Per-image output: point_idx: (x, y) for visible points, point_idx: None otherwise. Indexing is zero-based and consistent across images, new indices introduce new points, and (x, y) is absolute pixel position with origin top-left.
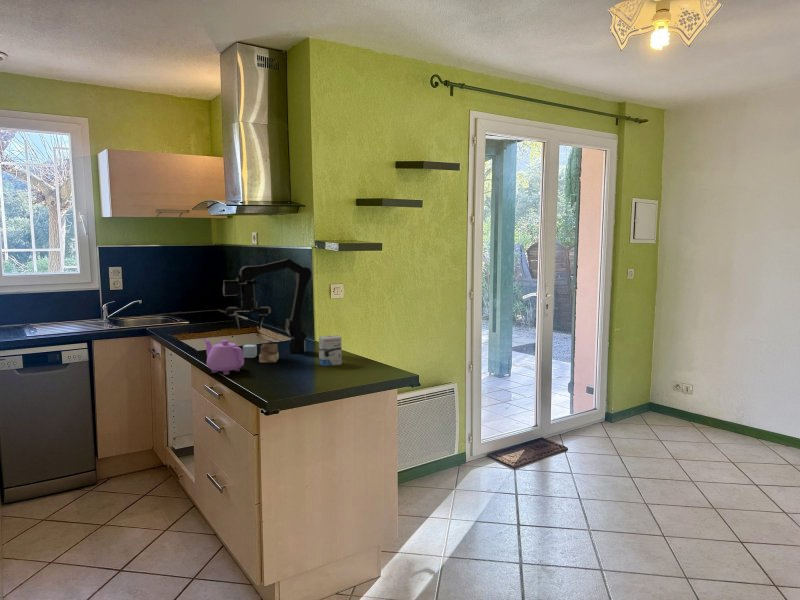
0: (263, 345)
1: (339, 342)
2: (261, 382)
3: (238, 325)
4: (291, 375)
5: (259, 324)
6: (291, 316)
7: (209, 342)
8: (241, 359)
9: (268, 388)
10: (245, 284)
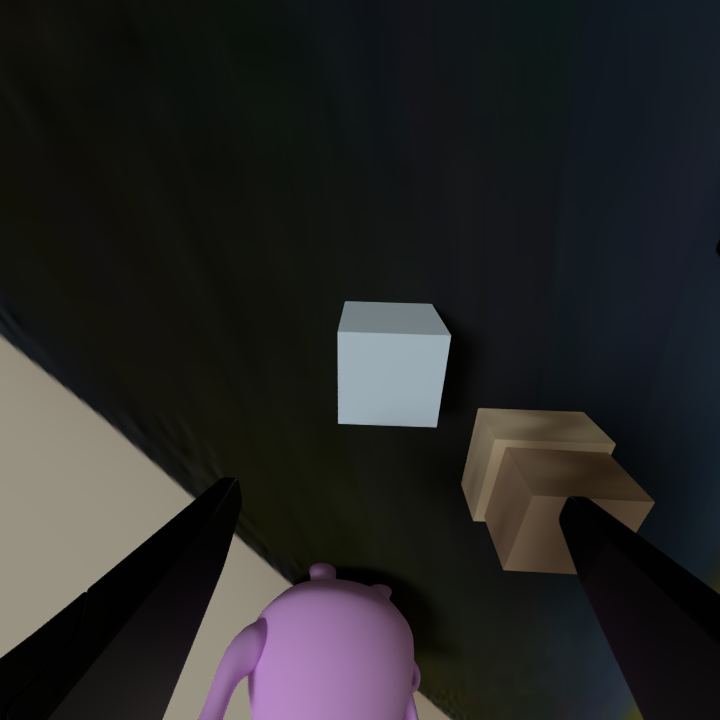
0: (527, 543)
1: None
2: (481, 685)
3: (204, 575)
4: (586, 646)
5: (632, 657)
6: None
7: None
8: (411, 690)
9: (500, 714)
10: None
